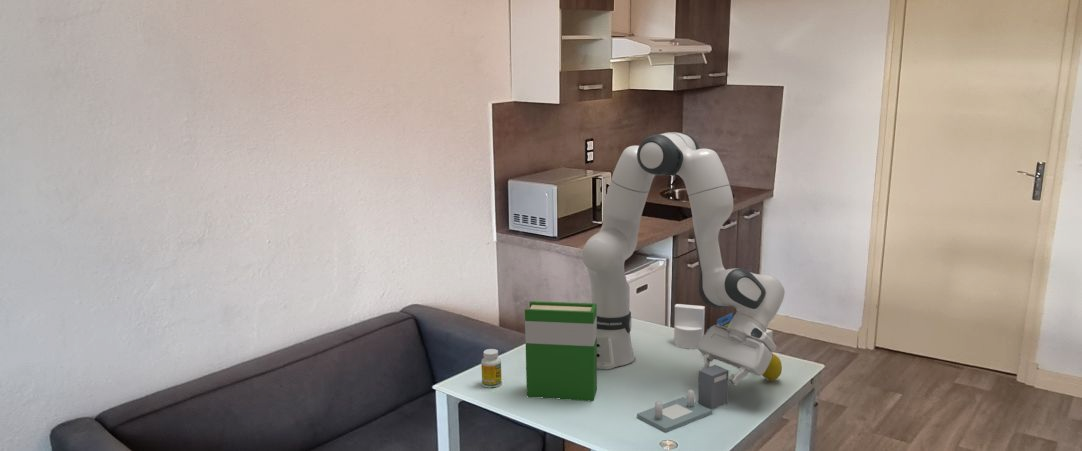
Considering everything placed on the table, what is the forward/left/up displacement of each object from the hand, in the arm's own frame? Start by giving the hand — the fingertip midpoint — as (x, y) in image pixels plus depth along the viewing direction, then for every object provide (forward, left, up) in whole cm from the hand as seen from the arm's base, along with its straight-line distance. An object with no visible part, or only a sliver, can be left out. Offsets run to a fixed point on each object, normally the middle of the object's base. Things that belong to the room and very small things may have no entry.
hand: (718, 377), depth 203 cm
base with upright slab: (-9, +41, -7) cm, 42 cm away
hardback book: (-40, -2, -7) cm, 41 cm away
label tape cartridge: (0, +34, -7) cm, 35 cm away
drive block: (-1, -1, -7) cm, 7 cm away
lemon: (+14, +16, -7) cm, 22 cm away
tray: (-10, -10, -7) cm, 16 cm away
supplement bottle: (-60, 0, -7) cm, 61 cm away
